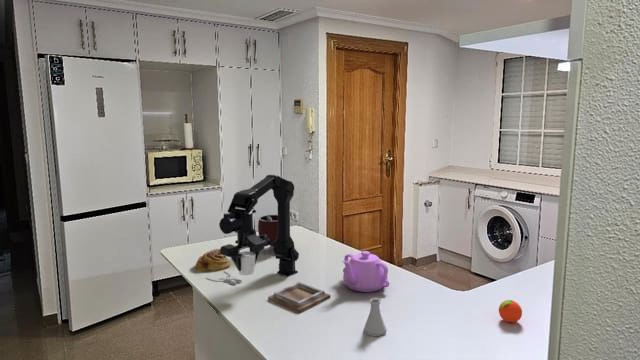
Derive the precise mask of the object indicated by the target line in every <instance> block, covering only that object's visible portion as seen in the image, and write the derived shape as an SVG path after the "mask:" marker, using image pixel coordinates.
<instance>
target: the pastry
mask: <svg viewBox="0 0 640 360" xmlns="http://www.w3.org/2000/svg"><path fill="white" fill-rule="evenodd" d="M194 266H195V269H196V270H197V271H200V272H220V271H226V270H228V269H229V268H230V266H231V261H230V259H228V257H227V256H225V255H222V254H220V248H214V249H211V250H210V251H206V252H205V253H203V255H201V256H199V257H198V259H197V261H196V263H195V265H194Z"/></svg>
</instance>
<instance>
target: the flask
mask: <svg viewBox="0 0 640 360" xmlns="http://www.w3.org/2000/svg"><path fill="white" fill-rule="evenodd" d="M369 302H370V310H369V314H368V317H367V320H366V322H365V324H364V328H363V332H364V333H365V334H366V335H367V336H372V337H373V336H374V337H379V336H383V335H386V334H387V327H386V325H385V322H384V320H383V316H382V313H381V309H380V304H381V300H380V299H379V298H371V299H370V300H369Z"/></svg>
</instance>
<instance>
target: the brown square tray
mask: <svg viewBox="0 0 640 360" xmlns="http://www.w3.org/2000/svg"><path fill="white" fill-rule="evenodd" d="M329 299H331V294H328V293H326V292H325V290H322V289H320V288H317V287H314V286H312V285H308V284H306V283H302V282H301V281H299V282H296V283H294V284H291V285H289V286H287V287H284V288H282V289H279V290H276V291H275V292H273V294H272V295H269V296H268V297H267V300H268V301H270V302H272V303H274V304H277V305H279V306H281V307H284V308H286V309H288V310H290V311H293V312H296V313H299V314H301V313H303V312H305V311H307V310H309V309H311V308H313V307H315V306H317V305H319V304H322V303H323V302H326V301H328V300H329Z"/></svg>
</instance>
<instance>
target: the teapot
mask: <svg viewBox="0 0 640 360" xmlns="http://www.w3.org/2000/svg"><path fill="white" fill-rule="evenodd" d="M349 258H350V259H349ZM342 263H343V264H344V268H343V269H342V272H343V276H342V280H343V282H344V284H345V285H346V286H347V287H348V288H349V289H351V290H353V291H357V292H362V293H373V292H376V291H379V290H381V289H383V288H388V287H389V285H390V282H389V280H388V274H389V268H388V266H387V264H386V263H384V262H382V260H381V259H380V257H378V255H376V254H373V253H371V252H370V251H368V250H363V251H360V253H356V254H352V253H347V254H346V255H344V259H343V261H342Z"/></svg>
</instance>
